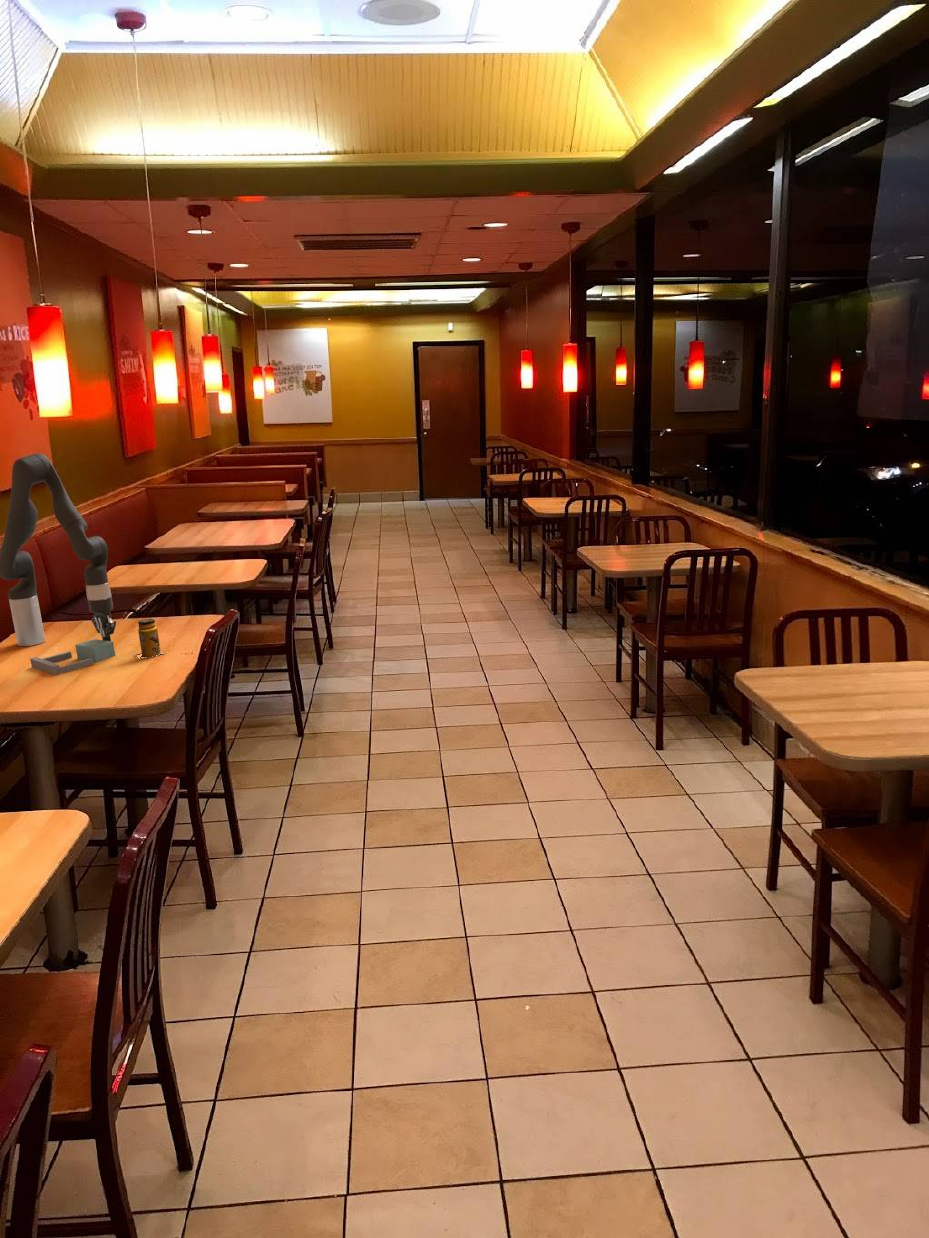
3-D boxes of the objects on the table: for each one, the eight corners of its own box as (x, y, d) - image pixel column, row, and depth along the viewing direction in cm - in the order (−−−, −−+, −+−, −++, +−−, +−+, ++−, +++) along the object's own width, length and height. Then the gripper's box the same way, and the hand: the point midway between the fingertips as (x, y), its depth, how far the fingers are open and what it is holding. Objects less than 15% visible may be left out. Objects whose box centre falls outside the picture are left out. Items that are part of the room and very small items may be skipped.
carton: (77, 659, 310) (75, 644, 309) (97, 652, 316) (94, 638, 315) (96, 662, 305) (93, 647, 303) (115, 656, 311) (113, 641, 309)
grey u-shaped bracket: (31, 667, 304) (30, 658, 303) (70, 657, 313) (68, 648, 312) (54, 675, 293) (52, 666, 292) (93, 664, 302) (92, 655, 301)
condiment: (164, 654, 308) (159, 620, 305) (138, 660, 304) (133, 625, 301) (158, 650, 314) (153, 616, 311) (133, 655, 310) (127, 621, 307)
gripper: (79, 597, 311) (87, 646, 315) (98, 601, 302) (107, 651, 307) (100, 592, 316) (108, 640, 321) (119, 596, 308) (128, 646, 312)
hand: (107, 646), depth 314 cm, fingers closed
